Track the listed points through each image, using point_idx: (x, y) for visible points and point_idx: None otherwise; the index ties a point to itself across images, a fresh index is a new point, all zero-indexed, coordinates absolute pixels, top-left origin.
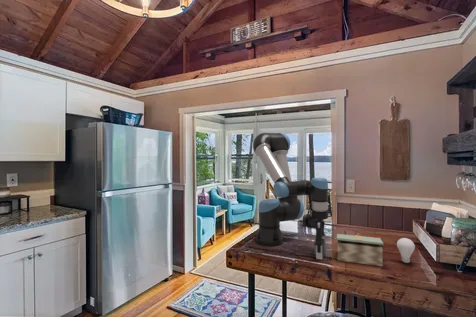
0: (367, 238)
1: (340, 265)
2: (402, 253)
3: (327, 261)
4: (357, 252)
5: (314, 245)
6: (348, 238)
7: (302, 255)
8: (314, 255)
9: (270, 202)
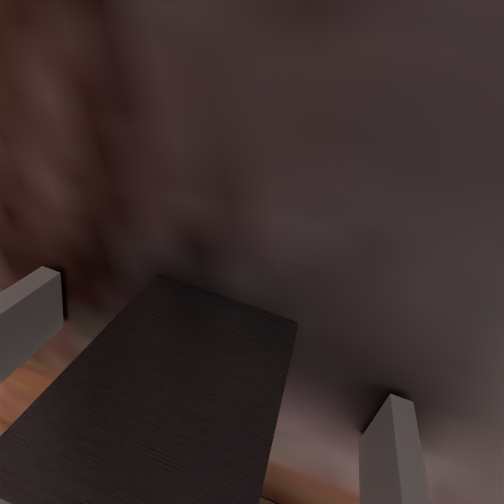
0: None
1: (14, 407)
2: None
3: (45, 350)
4: None
5: (49, 387)
6: None
7: (110, 90)
8: (156, 275)
9: None
